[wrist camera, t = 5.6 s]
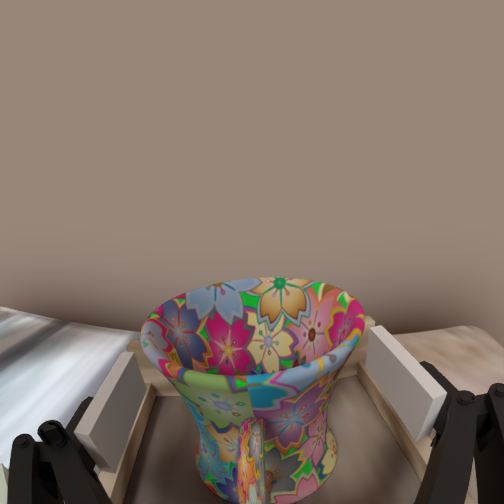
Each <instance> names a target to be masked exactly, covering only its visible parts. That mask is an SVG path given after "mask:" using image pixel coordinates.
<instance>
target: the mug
mask: <svg viewBox="0 0 504 504" xmlns="http://www.w3.org/2000/svg"><path fill="white" fill-rule="evenodd" d="M364 328H365V315H364V311H363V309H362V307H361V305H360V304H359V303H358V301H357V300H356V299H355V298H354V297H352V296H351V295H350V294H348V293H347V292H345V291H343V290H341V289H339V288H337V287H334V286H331V285H328V284H325V283H321V282H317V281H311V280H305V279H295V278H252V279H243V280H234V281H228V282H222V283H218V284H213V285H209V286H205V287H202V288H198V289H195V290H192V291H189V292H186V293H184V294H181V295H179V296H177V297H175V298H173V299H171V300H169V301H167V302H165V303H164V304H162V305H161V306H160V307H158V308H157V309H156V310H155V311H153V312H152V313H151V314H150V316H149V317H148V318H147V319H146V321H145V322H144V324H143V326H142V330H141V336H140V340H141V345H142V348H143V351H144V353H145V355H146V356H147V358H148V359H149V360H150V361H151V363H152V364H153V365H154V366H155V367H156V368H157V369H158V370H159V371H160V372H161V373H162V374H163V375H164V376H165V377H166V378H167V379H168V381H169V382H170V383H171V384H172V385H173V386H174V388H175V389H176V390H177V391H178V393H179V394H180V395H181V397H182V398H183V399H184V401H185V402H186V404H187V405H188V407H189V409H190V410H191V412H192V414H193V416H194V418H195V420H196V423H197V426H198V429H199V433H200V441H199V443H198V445H197V449H196V455H195V462H196V467H197V471H198V473H199V476H200V477H201V479H202V481H203V482H204V483H205V485H206V486H207V487H208V488H209V489H210V490H211V491H213V492H214V493H215V494H217V495H218V496H220V497H221V498H223V499H225V500H227V501H229V502H232V503H234V504H292V503H294V502H297V501H299V500H301V499H303V498H305V497H307V496H309V495H310V494H312V493H313V492H315V491H316V490H317V489H318V488H319V487H321V486H322V485H323V483H324V482H325V481H326V480H327V479H328V477H329V476H330V474H331V473H332V471H333V469H334V466H335V463H336V459H337V446H336V441H335V439H334V436H333V434H332V432H331V431H330V429H329V428H328V427H327V409H328V404H329V400H330V397H331V394H332V391H333V388H334V386H335V383H336V381H337V379H338V377H339V375H340V372H341V371H342V369H343V367H344V365H345V363H346V362H347V360H348V358H349V357H350V355H351V353H352V352H353V350H354V349H355V347H356V346H357V344H358V343H359V341H360V339H361V337H362V334H363V332H364Z"/></svg>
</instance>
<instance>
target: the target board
mask: <svg viewBox="0 0 504 504" xmlns="http://www.w3.org/2000/svg"><path fill="white" fill-rule="evenodd" d="M8 476H9V471H8V470H7V469H6V467H5V466H4V465H3V464H2V463H1V464H0V504H7V490H8Z"/></svg>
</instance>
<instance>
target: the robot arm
mask: <svg viewBox="0 0 504 504" xmlns="http://www.w3.org/2000/svg"><path fill="white" fill-rule="evenodd" d="M365 367H366V369H367V370H368V372H369V373H370V375H371V376H372V378H373V379H374V380H375V382H376V383H377V385H378V386H379V388H380V389H381V391H382V392H383V394H384V395H385V396H386V398H387V399H388V401H389V402H390V404H391V405H392V407H393V408H394V410H395V411H396V413H397V414H398V416H399V417H400V419H401V420H402V422H403V423H404V425H405V426H406V428H407V429H408V431H409V432H410V434H411V435H412V437H413V438H414V440H415V441H418V440H421V439H423V438H425V437H427V436H429V435H430V433H431V431H432V428H434V429H435V430H436V432H437V433H436V435H435V437H434V439H433V441H432V443H431V445H430V447H432V450H431V453H430V457H429V461H428V464H427V468H426V471H425V474H424V477H423V480H422V483H421V486H420V489H419V492H418V495H417V497H416V500H415V503H414V504H464V503H465V499H466V495H467V490H468V486H469V480H470V475H471V469H472V462H473V455H474V460H475V469H476V478H477V491H478V504H504V384H502V383H495V384H492V385H491V386H490V388H489V390H488V393H486V394H481V395H476V396H475V395H474V394H473V393H471V392H470V391H466V390H462V391H458V390H457V389H456V388H455V387H454V386H453V385H452V384H451V383H450V382H449V381H448V380H447V379H446V378H445V377H444V376H443V375H442V374H441V373H440V372H438V370H437V369H436V368H435V367H434V366H433V365H432V364H430V363H428V362H425V361H423V362H420V363H418V362H417V361H416V360H415V359H414V358H413V357H412V355H411V354H410V353H409V352H408V351H407V350H406V349H405V348H404V347H403V346H402V345H401V344H400V343H399V342H398V341H397V340H396V339H395V338H394V337H393V336H392V335H391V334H390V333H389V332H388V331H387V330H385V329H384V328H383V327H382V326H376V327H371V328H369V339H368V348H367V356H366V364H365ZM146 391H147V388H146V385H145V383H144V380H143V377H142V374H141V371H140V368H139V365H138V362H137V359H136V356H135V353H134V352H122V353H121V355H120V356H119V358H118V359H117V361H116V363H115V364H114V366H113V367H112V369H111V370H110V372H109V374H108V375H107V377H106V378H105V380H104V382H103V383H102V385H101V387H100V388H99V390H98V392H97V393H96V395H95V396H94V397H88V398H86V399H85V400H84V401H83V402H82V403H81V404H80V406H79V407H78V410H77V411H76V412H75V414H74V415H73V417H72V419H71V420H70V422H69V424H68V425H67V427H66V429H64V428H63V426H62V425H61V423H60V422H58V421H56V420H49V421H46V422H44V423H42V424H41V425H40V426H39V428H38V435H39V436H40V438H41V439H42V441H43V442H35V440H34V439H33V437H32V436H31V435H29V434H21V435H19V436H17V437H16V438H15V439H14V441H13V444H12V450H11V458H10V466H9V476H8V490H7V504H64V502H65V504H113V503H112V502H111V500H110V498H109V496H108V495H107V493H106V491H105V489H104V487H103V485H102V484H101V482H100V480H99V478H98V476H97V474H96V472H95V471H94V470H93V469H94V467H95V464H96V465H97V466H98V467H99V469H100V470H101V471H104V472H109V473H114V474H116V471H117V468H118V465H119V462H120V460H121V457H122V454H123V451H124V448H125V446H126V443H127V440H128V438H129V435H130V432H131V430H132V427H133V424H134V422H135V419H136V416H137V414H138V411H139V409H140V406H141V404H142V401H143V398H144V396H145V393H146ZM432 445H433V446H432ZM63 499H64V500H63Z"/></svg>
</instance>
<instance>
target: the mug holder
mask: <svg viewBox="0 0 504 504" xmlns="http://www.w3.org/2000/svg"><path fill="white" fill-rule="evenodd" d="M371 327H375V321H374V320H373V319H372V318H370V316H365V328H364V332H363V334H362V337H361V339H360V341H359V343H358V344H357V346H356V347H355V349H354V350H353V352H352V353H351V355H350V357H349V358H348V360H347V362H346V363H345V365H344V367H343V369H342V371H341V372H340V375H339V377H338V379H342V378H346V377H351V376H355V375H357V377H358V378H359V380H360V382H361V383H362V385H363V386H364V388H365V390H366V391H367V393H368V394H369V396H370V398H371V399H372V401H373V402H374V404H375V406H376V407H377V409H378V411H379V412H380V414H381V415H382V417H383V419H384V420H385V422H386V424H387V425H388V427H389V429H390V430H391V432H392V434H393V435H394V437H395V439H396V440H397V442H398V444H399V445H400V447H401V449H402V450H403V452H404V454H405V455H406V457H407V459H408V460H409V462H410V464H411V465H412V467H413V469H414V471H415V472H416V474H417V476H418V477H419V479H420V481H421V483H422V480H423V477H424V474H425V471H426V468H427V464H428V461H429V457H430V453H431V450H432V447H430V445H431V443H432V440H431V438H430V437H429V436H427V437H425V438H423V439H421V440H418V441H415V440H414V438H413V437H412V435H411V434H410V432H409V431H408V429H407V428H406V426H405V425H404V423H403V422H402V420H401V419H400V417H399V416H398V414H397V413H396V411H395V410H394V408H393V407H392V405H391V404H390V402H389V401H388V399H387V398H386V396H385V395H384V394H383V392H382V391H381V389H380V388H379V386H378V385H377V383H376V382H375V380H374V379H373V378H372V376H371V375H370V373H369V372H368V370H367V369H366V367H365V364H366V356H367V348H368V339H369V328H371ZM126 348H127V351H128V352H134V353H135V356H136V359H137V362H138V365H139V368H140V371H141V374H142V377H143V380H144V383H145V385H146V388H147V391H146V393H145V396H144V398H143V401H142V404H141V406H140V409H139V411H138V414H137V416H136V419H135V422H134V424H133V427H132V430H131V432H130V435H129V438H128V440H127V443H126V446H125V448H124V451H123V454H122V457H121V460H120V462H119V465H118V468H117V471H116V474H114V473H109V472H104V471H101V472H100V474H99V477H98V478H99V480H100V482H101V484H102V485H103V487H104V489H105V491H106V493H107V495H108V496H109V498H110V500H111V502H112V503H113V504H123V500H124V497H125V493H126V490H127V486H128V483H129V479H130V476H131V472H132V469H133V466H134V463H135V459H136V456H137V453H138V450H139V446H140V443H141V440H142V437H143V434H144V431H145V428H146V425H147V422H148V419H149V416H150V413H151V410H152V407H153V404H154V401H155V398H156V396H181V395H180V394H179V393H178V391H177V390H176V389H175V388H174V386H173V385H172V384H171V383H170V382H169V381H168V379H167V378H166V377H165V376H164V375H163V374H162V373H161V372H160V371H159V370H158V369H157V368H156V367H155V366H154V365H153V364H152V363H151V361H150V360H149V359H148V358H147V356H146V355H145V353H144V351H143V348H142V345H141V340H131V341H130V343H129V344H128V346H127V347H126ZM432 446H433V445H432ZM464 504H475V503H474V501H473V499H472V498H471V496H470V495H469V493H468V492H467V495H466V499H465V503H464Z"/></svg>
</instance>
